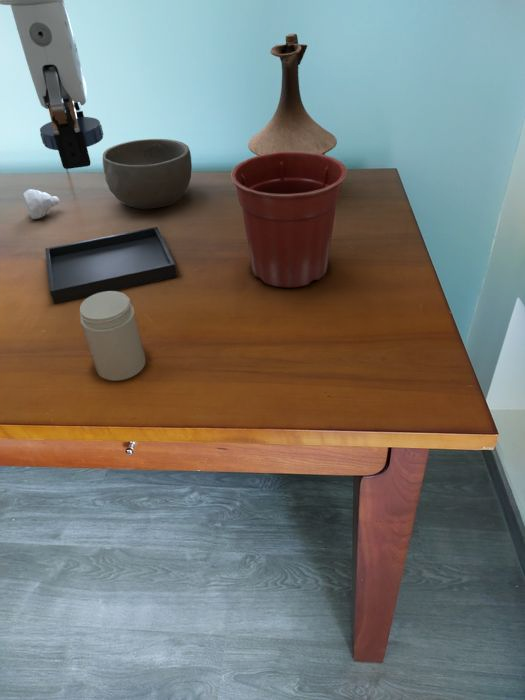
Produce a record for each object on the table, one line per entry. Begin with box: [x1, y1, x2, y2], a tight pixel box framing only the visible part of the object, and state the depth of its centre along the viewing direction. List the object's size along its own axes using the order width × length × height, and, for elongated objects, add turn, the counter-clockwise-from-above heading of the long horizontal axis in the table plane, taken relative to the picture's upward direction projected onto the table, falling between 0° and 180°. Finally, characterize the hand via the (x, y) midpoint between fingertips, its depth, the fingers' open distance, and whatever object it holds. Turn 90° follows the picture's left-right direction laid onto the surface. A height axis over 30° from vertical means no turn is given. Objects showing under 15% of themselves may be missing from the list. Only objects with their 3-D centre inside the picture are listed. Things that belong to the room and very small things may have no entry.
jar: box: [79, 290, 147, 382], centre depth 66 cm, size 6×6×10 cm
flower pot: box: [230, 151, 348, 289], centre depth 80 cm, size 16×16×16 cm
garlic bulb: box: [22, 188, 60, 220], centre depth 102 cm, size 6×6×5 cm
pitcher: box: [247, 33, 338, 156], centre depth 99 cm, size 18×17×28 cm
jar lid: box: [39, 116, 104, 151], centre depth 64 cm, size 7×7×2 cm
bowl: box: [102, 138, 193, 210], centre depth 105 cm, size 17×18×10 cm
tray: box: [44, 226, 178, 305], centre depth 87 cm, size 19×14×2 cm
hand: (77, 154), depth 66 cm, fingers closed on jar lid, 7 cm apart
